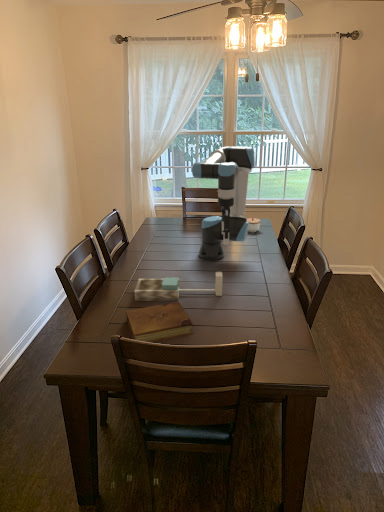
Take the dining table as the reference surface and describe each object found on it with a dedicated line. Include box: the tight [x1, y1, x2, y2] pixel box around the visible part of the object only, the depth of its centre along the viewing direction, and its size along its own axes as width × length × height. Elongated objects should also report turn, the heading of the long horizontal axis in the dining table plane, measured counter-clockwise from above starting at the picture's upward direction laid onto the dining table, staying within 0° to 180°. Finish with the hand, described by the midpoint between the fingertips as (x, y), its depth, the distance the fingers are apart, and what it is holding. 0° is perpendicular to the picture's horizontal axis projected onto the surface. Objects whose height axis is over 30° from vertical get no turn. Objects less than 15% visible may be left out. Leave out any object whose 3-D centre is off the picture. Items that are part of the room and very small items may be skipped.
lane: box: [134, 278, 181, 302], centre depth 178 cm, size 20×13×5 cm, turn 89°
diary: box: [125, 301, 193, 343], centre depth 152 cm, size 23×19×6 cm
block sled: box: [162, 271, 223, 297], centre depth 177 cm, size 28×8×10 cm, turn 89°
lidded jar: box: [247, 217, 261, 233], centre depth 262 cm, size 11×11×9 cm
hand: (225, 239), depth 184 cm, fingers open, 13 cm apart
